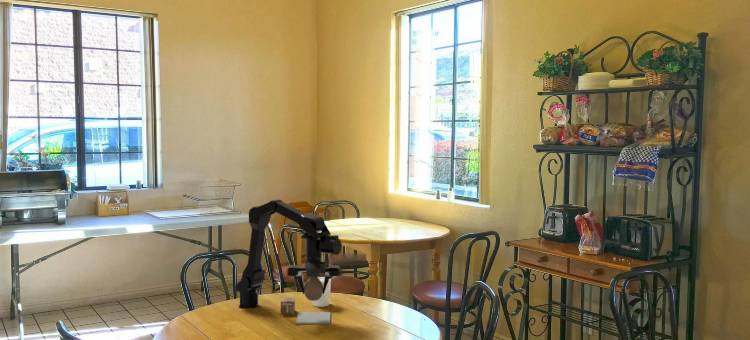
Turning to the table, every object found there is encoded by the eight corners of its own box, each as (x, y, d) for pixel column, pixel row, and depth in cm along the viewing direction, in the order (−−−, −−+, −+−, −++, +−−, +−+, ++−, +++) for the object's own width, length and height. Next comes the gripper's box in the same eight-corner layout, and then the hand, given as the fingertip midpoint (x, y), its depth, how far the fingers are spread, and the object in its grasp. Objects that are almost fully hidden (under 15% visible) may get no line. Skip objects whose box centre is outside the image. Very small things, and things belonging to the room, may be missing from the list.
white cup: (321, 308, 242) (321, 283, 241) (306, 304, 246) (306, 279, 246) (334, 304, 248) (334, 279, 247) (319, 300, 253) (320, 276, 252)
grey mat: (296, 324, 223) (296, 322, 223) (298, 313, 235) (298, 312, 235) (329, 323, 224) (329, 322, 223) (330, 313, 235) (330, 312, 235)
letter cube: (280, 314, 234) (280, 301, 233) (281, 310, 239) (281, 297, 238) (294, 314, 234) (294, 301, 234) (295, 310, 239) (295, 297, 239)
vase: (324, 296, 232) (324, 273, 231) (321, 302, 225) (321, 278, 224) (306, 296, 232) (306, 272, 232) (302, 301, 225) (302, 277, 225)
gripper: (286, 256, 219) (285, 300, 220) (339, 256, 220) (339, 300, 221) (288, 249, 230) (288, 291, 231) (339, 249, 231) (339, 291, 232)
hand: (313, 293), depth 228 cm, fingers closed on vase, 7 cm apart
